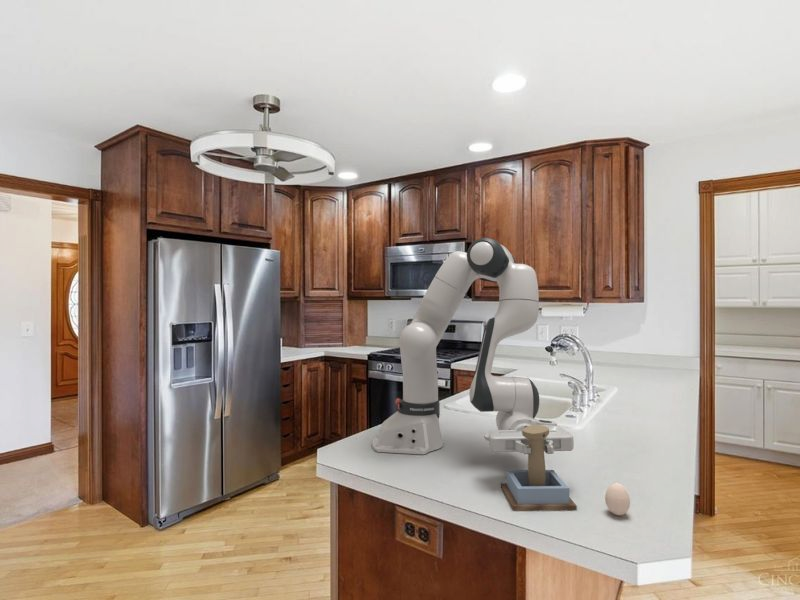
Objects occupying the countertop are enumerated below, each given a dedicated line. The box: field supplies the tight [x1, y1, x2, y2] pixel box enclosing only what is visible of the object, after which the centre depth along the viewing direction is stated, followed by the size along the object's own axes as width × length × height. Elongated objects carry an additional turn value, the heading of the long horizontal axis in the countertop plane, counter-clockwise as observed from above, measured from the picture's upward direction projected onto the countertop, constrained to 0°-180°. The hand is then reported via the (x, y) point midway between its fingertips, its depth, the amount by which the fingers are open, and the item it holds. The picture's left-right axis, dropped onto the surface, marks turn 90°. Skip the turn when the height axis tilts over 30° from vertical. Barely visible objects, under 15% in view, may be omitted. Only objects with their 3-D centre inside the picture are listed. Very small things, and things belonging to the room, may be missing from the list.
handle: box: [522, 425, 549, 486], centre depth 105 cm, size 5×6×15 cm
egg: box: [604, 482, 631, 516], centre depth 97 cm, size 5×5×7 cm
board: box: [500, 482, 578, 512], centre depth 105 cm, size 14×12×1 cm
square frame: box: [506, 469, 570, 504], centre depth 105 cm, size 11×10×4 cm
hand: (539, 450), depth 104 cm, fingers open, 4 cm apart
